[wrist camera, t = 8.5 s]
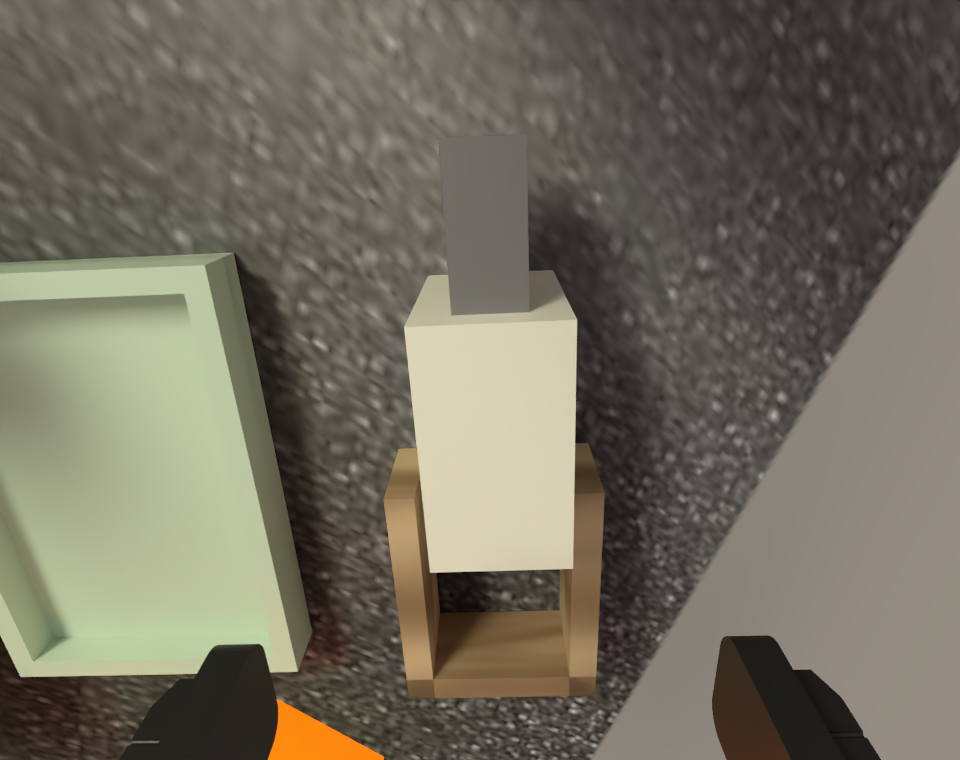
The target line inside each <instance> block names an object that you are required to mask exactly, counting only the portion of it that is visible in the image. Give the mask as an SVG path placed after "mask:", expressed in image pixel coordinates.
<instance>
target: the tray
mask: <svg viewBox="0 0 960 760" xmlns="http://www.w3.org/2000/svg"><path fill="white" fill-rule="evenodd" d="M311 634H312V627H311V623H310V618H309V613H308V608H307V603H306V598H305V594H304V589H303V584H302V579H301V574H300V570H299V565H298V560H297V555H296V550H295V546H294V541H293V536H292V531H291V526H290V522H289V517H288V512H287V507H286V502H285V498H284V493H283V488H282V483H281V478H280V473H279V469H278V464H277V459H276V454H275V449H274V445H273V440H272V435H271V430H270V425H269V421H268V416H267V411H266V406H265V401H264V397H263V392H262V387H261V382H260V377H259V373H258V368H257V363H256V358H255V353H254V348H253V344H252V339H251V334H250V329H249V324H248V320H247V315H246V310H245V305H244V300H243V296H242V291H241V286H240V281H239V276H238V272H237V267H236V262H235V257H234V253H215V254H192V255H168V256H144V257H121V258H97V259H73V260H50V261H26V262H3V263H0V636H1V638H2V640H3V642H4V644H5V646H6V648H7V650H8V652H9V654H10V656H11V658H12V660H13V663H14V665H15V667H16V669H17V671H18V673H19V675H20V677H49V676H102V675H154V674H197V673H198V671H199V669H200V667H201V666H202V664H203V662H204V660H205V658H206V657H207V655H208V653H209V652H210V650H211V649H212V648H213V647H214V646H216V645H230V644H260V645H262V646H263V648H264V651H265V654H266V658H267V662H268V666H269V670H270V672H298V670H299V667H300V664H301V662H302V659H303V656H304V653H305V651H306V648H307V645H308V642H309V639H310V637H311Z"/></svg>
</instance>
